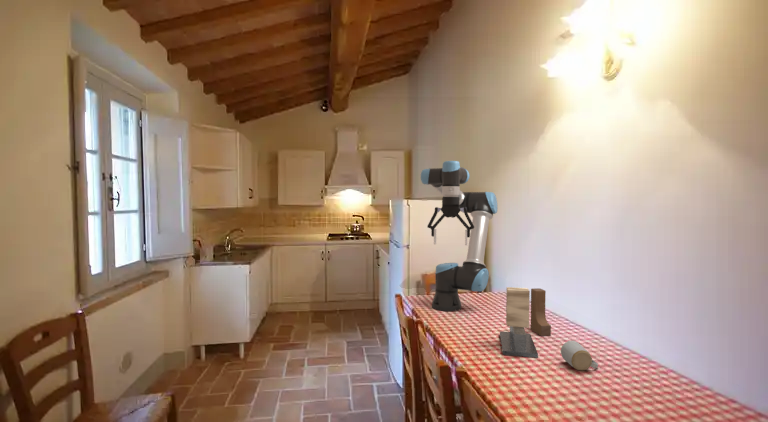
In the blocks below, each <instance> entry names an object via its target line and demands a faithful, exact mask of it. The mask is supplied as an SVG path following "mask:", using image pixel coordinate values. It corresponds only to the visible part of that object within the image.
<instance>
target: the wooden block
mask: <svg viewBox="0 0 768 422" xmlns="http://www.w3.org/2000/svg"><path fill="white" fill-rule="evenodd" d="M546 317H547V316H546V290H544V289H543V288H535V287H534V288H530V330H531V331H532V332H534V333H536V334H537V335H539V336H541V337H549V336H552V325H551V324H550V323H549V322H548V321H547V318H546Z"/></svg>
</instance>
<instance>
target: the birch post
mask: <svg viewBox="0 0 768 422" xmlns="http://www.w3.org/2000/svg"><path fill="white" fill-rule="evenodd" d="M505 293H506V303H505V307H506V311H505V312H506V315H505V319H506V320H505V323H506V327H510V326H512V327H524V329H525V328H527V329H530V300H531V290H530V289H529V288H528V287H512V286H511V287H510V286H509V287H508V286H506V292H505Z"/></svg>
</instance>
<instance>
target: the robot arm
mask: <svg viewBox="0 0 768 422" xmlns="http://www.w3.org/2000/svg"><path fill="white" fill-rule="evenodd" d="M469 180H470V173H469V170H467V169H466V168H464V167H461V166H460V161H459V160H445V161H443V162H442V167H437V168H436V167H435V168H430V167H429V168H424V169H422V171H420V181H421V183H422V184H423V185H431V186H432V187H433V188H434V189H435V190H436V191H437V192H438V193H439V194H440V195H441V196H442V198H441V201H442V202H441V203H442V204H441V207H438V206H436V207H435V208H434V213H433V214H432V216H431V218H430V220H429V222H428V224H427V228H428V229H430V230H431V232H430V233H431V237H433V245H437V229H436V227H438V225H439V224H440V223H441V222H442V220H443V219H444V218H445V217H446V218H453V219H454V218H457V219H458V221H459V222H460V223H461V224H462V226H464V227H465V228H466V229H465V233H464V234H465V236H464V239H465V240H464V245H465V246H468V248H467V254H466V260H465V261H463V262H462V265H461V266H460V265H459V263H458V262H445V263H444V262H443V263H440V264H437V265H436V266H435V273H434V274H435V276H434V278H435V281H434V282H435V284H434V285H435V293H434V295H433V299H432V302H431V308H433V309H434V310H437V311H441V312H442V311H443V312H456V311H459V310H461V309H462V303H461V299H460V297H459V290H461V291H462V290H463V291H470V292H483V291H485V289H486V288H487V285H488V282H489V274H490V273H489V270H488V268H487V266H486V264H485V263H484V261H485V252H486V246H487V238H488V231H489V225H490V220H491V219H493V218H494V215H496V214H497V213H498V200H497V196H496V194H495V193H494V192H493V191H492V192H491V191H466V192H465V191H462V190H461V189H460V185H464V184H466V183H467V182H468V181H469ZM440 211H441V213H442V214H441V216H440V217H439V218H438V219H437V221H436V222H435V223H434V224H433V222H434V220H435V219H436V218H437V216H438V213H439V212H440ZM460 212H462V213H463V214H464V215H465V218H466V220H467V222H468V224H469V225H468V224H467V223H466V221H465V220H464V219H463V217H461V215H460V214H459V213H460ZM469 214H470V215H469ZM470 216H471V217H472V220H471V217H470ZM468 238H469V239H468ZM468 240H469V241H468ZM468 242H469V243H468Z"/></svg>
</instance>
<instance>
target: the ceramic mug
mask: <svg viewBox="0 0 768 422" xmlns="http://www.w3.org/2000/svg"><path fill="white" fill-rule="evenodd" d="M560 355H561V357H562V359H563V360H564V361H565V362H567V363H568V365H570V366H571V367H572V368H574V369H575V370H577V371H587V370H588V369H590V367H591V368H593V369H597V368H598V366H599V363H597V362H596V360H594V359H593V357H592V355H591V353H590V352H589V350H588V349H586V348H585V347H584V346H583V345H582V344H580V343H579V342H577V340H576V341H575V340H568V341H566V342H564V343H563V345H562V346H561V348H560Z"/></svg>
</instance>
